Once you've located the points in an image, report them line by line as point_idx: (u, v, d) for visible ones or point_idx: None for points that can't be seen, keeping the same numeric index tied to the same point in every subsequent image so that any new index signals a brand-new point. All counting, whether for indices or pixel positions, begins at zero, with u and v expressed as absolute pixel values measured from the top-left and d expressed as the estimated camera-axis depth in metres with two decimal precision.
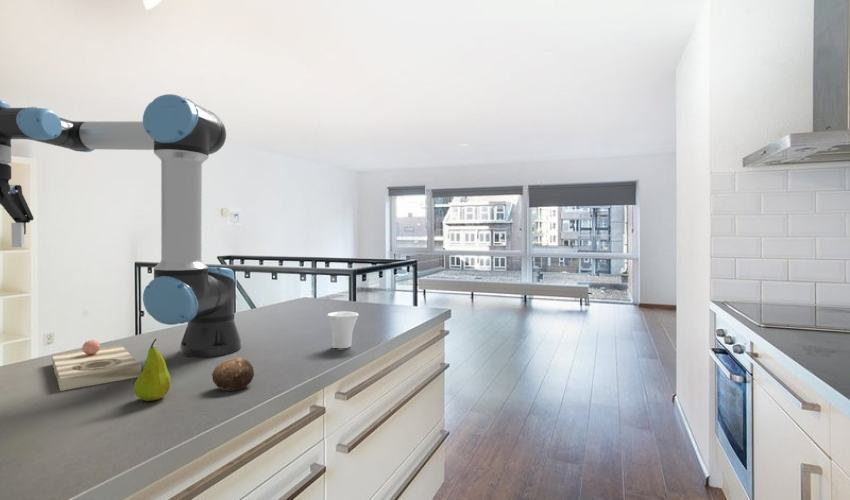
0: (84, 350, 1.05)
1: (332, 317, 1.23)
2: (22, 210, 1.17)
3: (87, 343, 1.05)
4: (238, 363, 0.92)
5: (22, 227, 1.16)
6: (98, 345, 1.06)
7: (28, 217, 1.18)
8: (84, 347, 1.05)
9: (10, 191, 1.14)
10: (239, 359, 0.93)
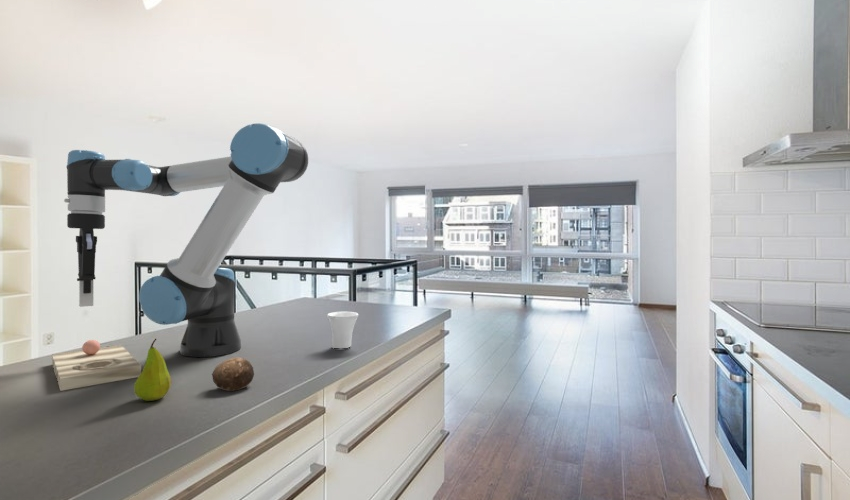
0: (84, 350, 1.05)
1: (332, 317, 1.23)
2: None
3: (87, 343, 1.05)
4: (238, 362, 0.92)
5: (92, 284, 1.12)
6: (98, 345, 1.06)
7: None
8: (84, 347, 1.05)
9: None
10: (239, 359, 0.93)
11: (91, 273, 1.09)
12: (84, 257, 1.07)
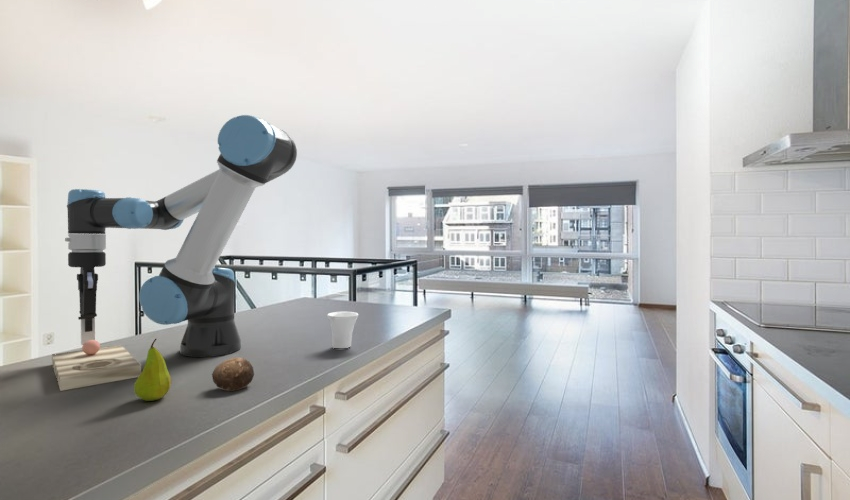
0: (84, 350, 1.05)
1: (332, 317, 1.23)
2: None
3: (87, 343, 1.05)
4: (238, 363, 0.92)
5: None
6: (98, 345, 1.06)
7: None
8: (84, 347, 1.05)
9: None
10: (239, 359, 0.93)
11: (92, 312, 1.09)
12: (85, 296, 1.07)
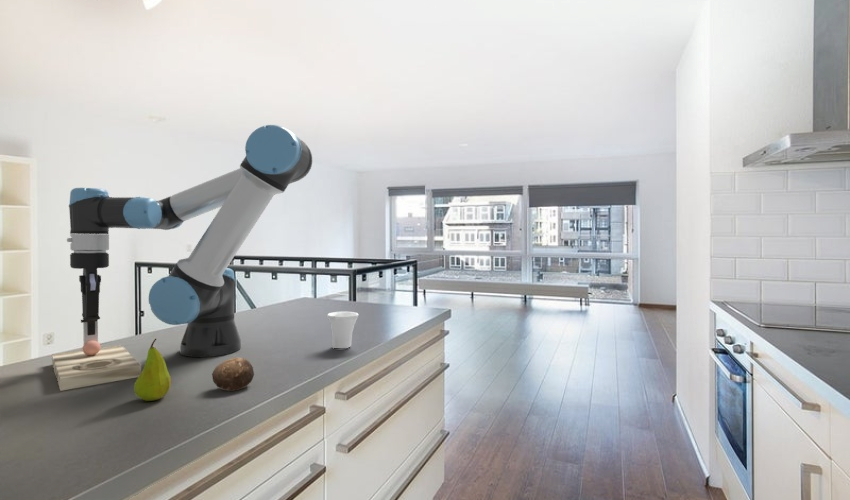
0: (84, 352, 1.04)
1: (332, 317, 1.23)
2: None
3: (87, 346, 1.04)
4: (238, 363, 0.92)
5: None
6: (98, 348, 1.06)
7: None
8: (84, 349, 1.04)
9: None
10: (239, 359, 0.93)
11: (95, 314, 1.05)
12: (88, 299, 1.03)
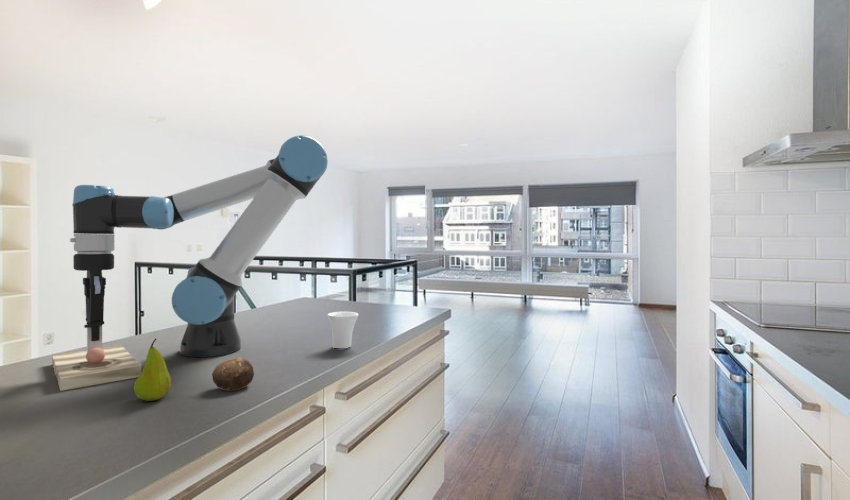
0: (88, 352, 0.98)
1: (332, 317, 1.23)
2: None
3: None
4: (238, 363, 0.92)
5: None
6: None
7: None
8: (87, 352, 0.99)
9: None
10: (239, 359, 0.93)
11: (100, 319, 0.99)
12: (92, 302, 0.97)
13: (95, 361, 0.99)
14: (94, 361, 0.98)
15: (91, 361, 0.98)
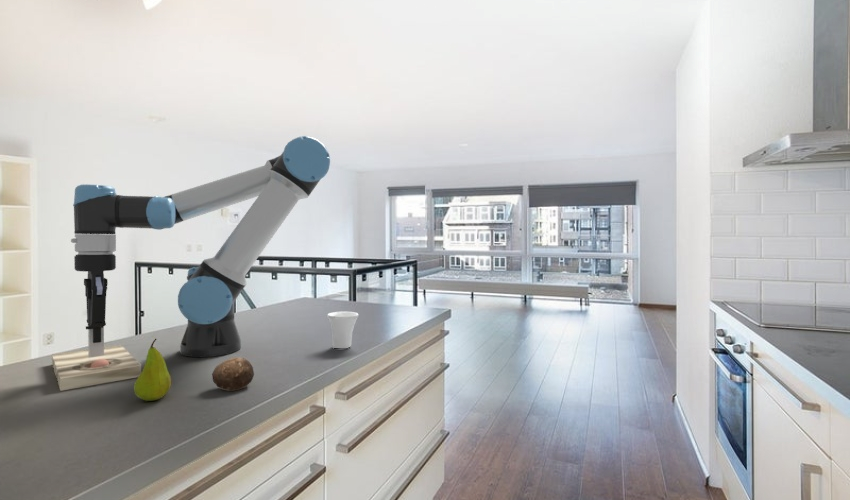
0: (93, 365, 0.98)
1: (332, 317, 1.23)
2: None
3: (98, 359, 0.99)
4: (238, 362, 0.92)
5: None
6: (108, 364, 1.00)
7: None
8: (94, 362, 0.98)
9: None
10: (239, 359, 0.93)
11: (101, 321, 0.98)
12: (94, 304, 0.96)
13: None
14: None
15: None
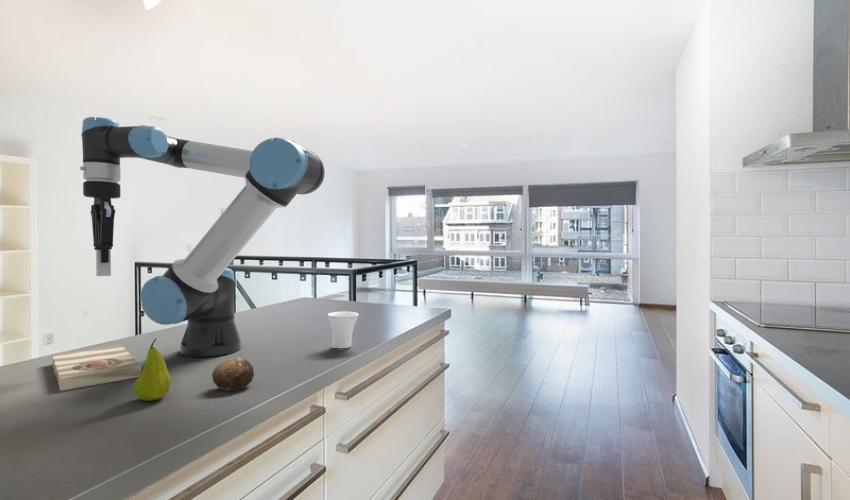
0: (92, 366, 0.97)
1: (332, 317, 1.23)
2: None
3: (97, 360, 0.99)
4: (238, 362, 0.92)
5: None
6: (108, 364, 0.99)
7: None
8: (93, 363, 0.98)
9: None
10: (239, 359, 0.93)
11: (109, 241, 1.08)
12: (103, 225, 1.06)
13: None
14: None
15: None
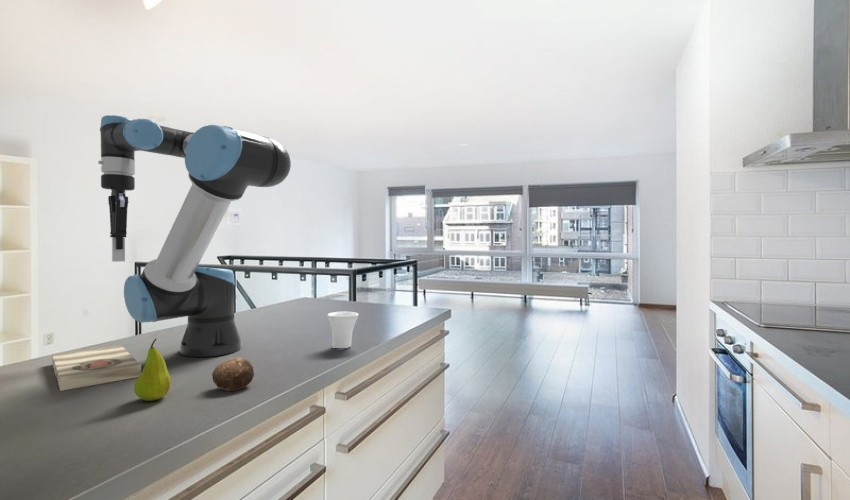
0: (92, 367, 0.97)
1: (332, 317, 1.23)
2: None
3: (97, 360, 0.98)
4: (238, 362, 0.92)
5: None
6: (107, 364, 0.99)
7: None
8: (93, 364, 0.98)
9: None
10: (239, 359, 0.93)
11: (123, 230, 1.17)
12: (117, 214, 1.15)
13: None
14: None
15: None
